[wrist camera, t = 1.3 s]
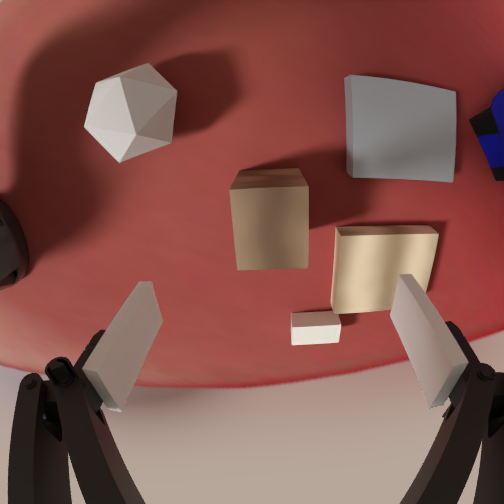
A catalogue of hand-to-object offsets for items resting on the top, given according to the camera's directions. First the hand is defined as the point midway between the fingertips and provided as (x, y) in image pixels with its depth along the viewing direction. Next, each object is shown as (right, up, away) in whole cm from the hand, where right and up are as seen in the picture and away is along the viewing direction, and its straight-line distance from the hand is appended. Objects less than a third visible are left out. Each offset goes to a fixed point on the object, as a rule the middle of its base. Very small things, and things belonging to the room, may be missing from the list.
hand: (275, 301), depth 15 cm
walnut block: (+1, +8, +16) cm, 17 cm away
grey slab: (+14, +16, +11) cm, 24 cm away
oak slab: (+14, +1, +18) cm, 23 cm away
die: (-12, +17, +12) cm, 24 cm away
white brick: (+7, -6, +22) cm, 24 cm away
